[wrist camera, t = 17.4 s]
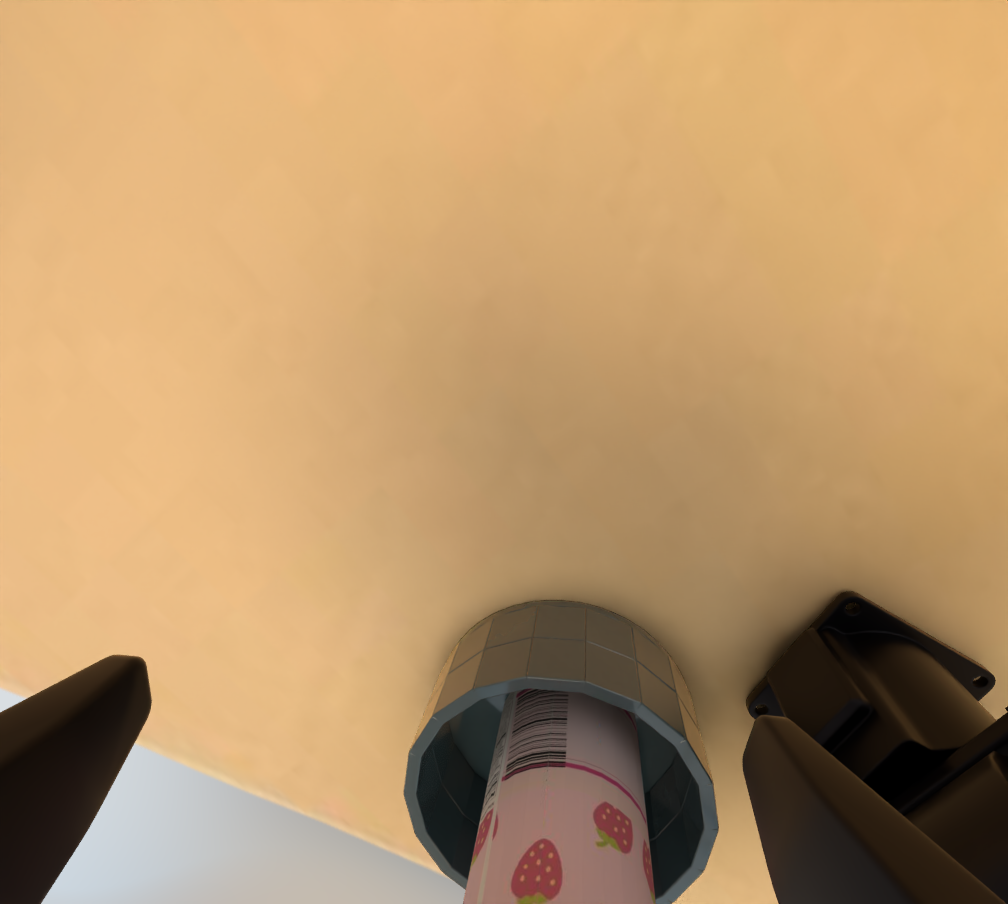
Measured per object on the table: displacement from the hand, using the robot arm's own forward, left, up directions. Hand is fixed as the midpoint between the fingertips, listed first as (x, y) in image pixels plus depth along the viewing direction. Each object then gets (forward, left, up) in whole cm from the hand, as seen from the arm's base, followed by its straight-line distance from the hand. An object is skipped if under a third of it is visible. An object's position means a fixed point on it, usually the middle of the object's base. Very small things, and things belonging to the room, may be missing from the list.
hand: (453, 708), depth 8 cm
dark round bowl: (-7, +10, -14) cm, 18 cm away
